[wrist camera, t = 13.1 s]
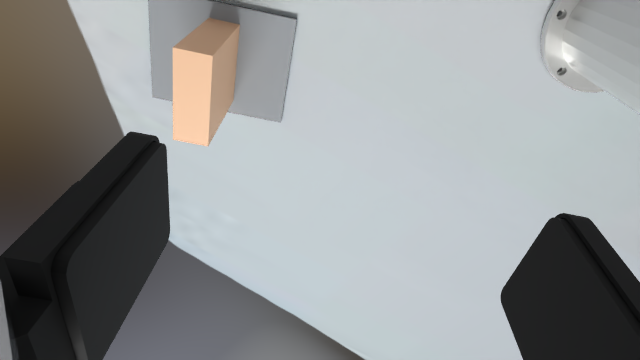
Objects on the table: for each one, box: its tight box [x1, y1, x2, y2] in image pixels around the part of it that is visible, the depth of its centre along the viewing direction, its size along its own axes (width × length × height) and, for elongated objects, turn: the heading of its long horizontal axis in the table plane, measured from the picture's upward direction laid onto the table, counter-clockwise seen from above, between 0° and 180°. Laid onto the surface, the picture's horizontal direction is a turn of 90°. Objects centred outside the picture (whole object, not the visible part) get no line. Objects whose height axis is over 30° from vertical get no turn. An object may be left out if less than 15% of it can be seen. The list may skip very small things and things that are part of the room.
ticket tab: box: [173, 18, 240, 146], centre depth 36 cm, size 3×8×10 cm, turn 169°
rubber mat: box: [148, 0, 297, 123], centre depth 40 cm, size 14×11×1 cm
